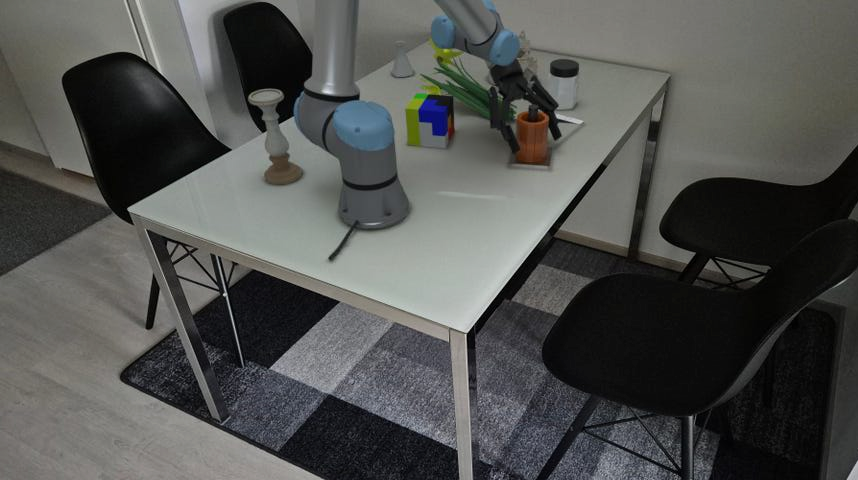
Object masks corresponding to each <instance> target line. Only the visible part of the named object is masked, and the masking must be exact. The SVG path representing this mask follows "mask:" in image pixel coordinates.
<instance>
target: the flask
mask: <svg viewBox="0 0 858 480" xmlns="http://www.w3.org/2000/svg"><path fill="white" fill-rule="evenodd" d="M394 44H395V46H396V53H395V54H396V55H395V58H394V62H393V67H392V71H391V75H392V76H394V77H396V78H406V77H410V76H413V75H414V69H413V67H412V64H411V62H410V59H409V57H408V55H407V52H406V47H405V46H406V41H404V40H398V41H395V43H394Z"/></svg>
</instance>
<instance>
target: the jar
mask: <svg viewBox="0 0 858 480" xmlns="http://www.w3.org/2000/svg"><path fill="white" fill-rule="evenodd" d="M549 65H550V66H549V73H548V75H547V89H546V91H547V92H548V93H549V94H550V95H551V96H552V97H553V99H554V100H555V101H556V102H557V103H558V104H559V107H558V108H557V109H555V111H564V110H573V109H574V107H575V106H576V105H577V101H578V93H579V92H578V91H579V82H580V63H579V62H578V61H577V60H573V59H570V58H569V59H568V58H559V59H554V60H552V61H551V62H550V64H549Z"/></svg>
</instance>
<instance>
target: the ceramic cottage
mask: <svg viewBox="0 0 858 480" xmlns="http://www.w3.org/2000/svg"><path fill="white" fill-rule="evenodd" d="M525 30H526V29H521V30H520V33H518V35H517V36H518V38H519V42H520V48H519V53H518V55H517V57H516V58H517V59H518V61H519V63H520V65H521V68H522V70H523V76H524V77H525V78H526V79H529V78H531V77H532V76H533V75H535V76H536V77H537V79H538V81H539V75H538V74H537V73H538V72H539V69H538V57H537V55H536V56H533V55H531V51H532V50H531V49H532V48H531V38H527V37H526V31H525ZM486 81H487V82H488V83H490V84H491V85H493V86H494V85H495V84H494V81H493V79H492V77H491V74H490V70H489V69H488V73H487V76H486ZM539 82H540V81H539ZM495 86H496V85H495ZM528 87H529V85H528ZM529 88H530V89H531V87H529Z"/></svg>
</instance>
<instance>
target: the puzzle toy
mask: <svg viewBox="0 0 858 480" xmlns="http://www.w3.org/2000/svg"><path fill="white" fill-rule="evenodd" d="M454 99H455V97H453V96H452V95H445V94H442V95H438V94H436V95H433V94H426V93H419V92H416V93H415V94H414V95H413V97H412V99H411V100H410V101H409V103H408V104H407V106H406V107H405V119H406V120H405V122H406V123H405V124H406V134H407V145H408V146H416V147H428V148H438V149H446V148H447V147H448V144H449V143H450V141H451V139H452V137H453V135H454V134H455V105H454V104H455V101H454Z"/></svg>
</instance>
